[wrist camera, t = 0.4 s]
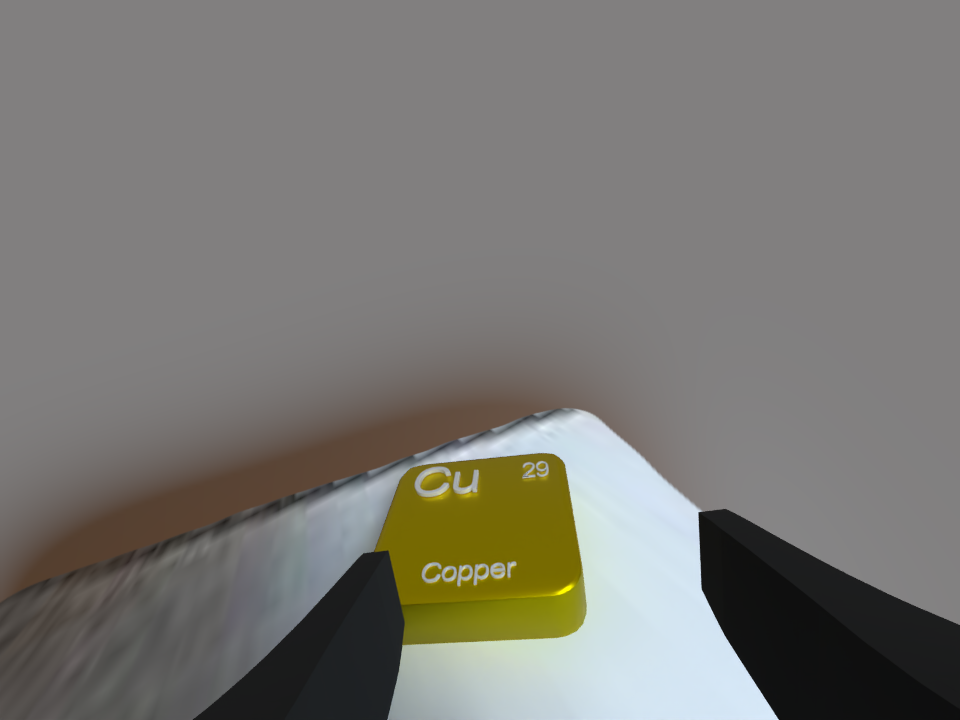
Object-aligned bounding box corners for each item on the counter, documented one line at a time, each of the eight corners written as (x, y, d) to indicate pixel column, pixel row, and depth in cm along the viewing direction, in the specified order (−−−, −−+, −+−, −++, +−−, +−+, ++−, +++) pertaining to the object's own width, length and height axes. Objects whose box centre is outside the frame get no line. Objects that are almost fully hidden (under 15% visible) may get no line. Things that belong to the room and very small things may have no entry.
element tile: (369, 650, 31) (349, 600, 29) (414, 500, 44) (402, 460, 43) (592, 640, 29) (586, 586, 27) (566, 486, 43) (562, 444, 41)
